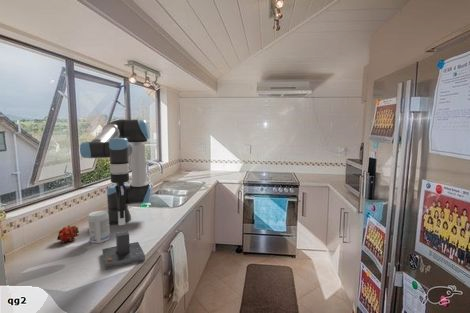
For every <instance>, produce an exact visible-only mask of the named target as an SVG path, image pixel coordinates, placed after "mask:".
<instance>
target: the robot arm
mask: <svg viewBox="0 0 470 313" xmlns="http://www.w3.org/2000/svg"><path fill="white" fill-rule="evenodd" d="M150 137H151V136H150V128H149V124H148V122H147V121H146V119H145V120H144V119H139V118H138V119H115V120H113V121H110V122H108V123H107V124H105V125H104V126H102V128H101V132H100V133H98V135H96V136H95V138H93V139H92V140H91V141H83V142H81V143H80V146H79V154H80V156H81V157H82V158H84V159H106V158H107V159H108V158H109V171H110V182H111V183H112V184H113V185H111V186H108V187H107V189H106V190H107V192H106V197H107V211H108V215H109V225H118V226H124V225H126V223H129V222H130V221H131V220H132V214H131V213H130V210H129V208H128V207H129V205H140V204H142V205H143V204H149V203H150V201H151V196H152V188H153V187H152V185H150V182H149V181H148V180H147V165H146V163H147V162H146V160H147V159H146V143H147V142H148V139H150ZM129 157H130V164H131V165H130V164H129ZM130 167H131V168H130ZM129 168H130V169H131V182H130V183H129V185H128V182H129V181H130V173H129Z"/></svg>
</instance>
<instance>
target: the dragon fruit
mask: <svg viewBox="0 0 470 313" xmlns="http://www.w3.org/2000/svg"><path fill="white" fill-rule="evenodd" d="M79 234H80V231H79V227H78V226H76V225H72V226H71V225H67V227H66V226H65V227H63V228H62V229H60V230H59V231H58V235H57V238H56V240H58V241H59V242H60V243H61V244H62V243H66V242H68V241H70V242H72V241H74V239H75V238H77V237H79Z"/></svg>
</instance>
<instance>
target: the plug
mask: <svg viewBox="0 0 470 313" xmlns="http://www.w3.org/2000/svg"><path fill="white" fill-rule="evenodd" d="M115 238H116V239H115V240H116V246H117V254H118V255H121V254H126V253H130V246H129V244H130V233H129V231H128V230H127V231H121V232H116V233H115Z"/></svg>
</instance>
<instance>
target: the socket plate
mask: <svg viewBox="0 0 470 313" xmlns="http://www.w3.org/2000/svg"><path fill="white" fill-rule="evenodd" d="M129 246H130V253H126V254H121V255H118V254H117V245H116V246H111V247H106V248H102V250H101V251H102V259H103V264H104V269H105V270H110V269H113V268H114V269H115V268H118V267H122V266H126V265H131V264H134V263H139V262H143V261H145V260H146V254H145V252H144V250H143V249H142V247H141V245H140V243H139V242H138V241H134V242H129Z"/></svg>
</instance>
